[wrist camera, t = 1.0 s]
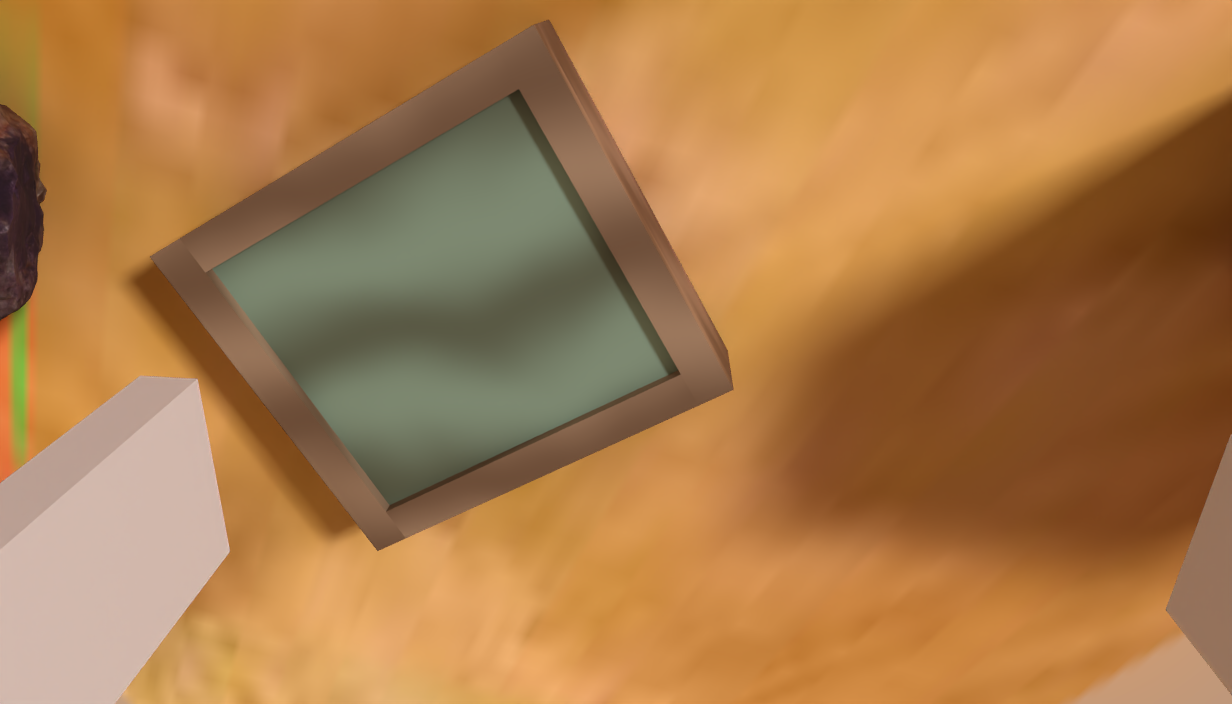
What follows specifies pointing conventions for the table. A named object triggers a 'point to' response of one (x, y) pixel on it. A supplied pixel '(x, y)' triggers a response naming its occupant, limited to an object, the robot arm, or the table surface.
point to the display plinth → (456, 295)
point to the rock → (18, 211)
